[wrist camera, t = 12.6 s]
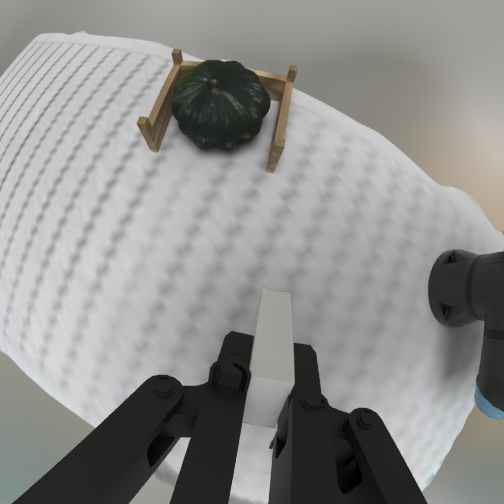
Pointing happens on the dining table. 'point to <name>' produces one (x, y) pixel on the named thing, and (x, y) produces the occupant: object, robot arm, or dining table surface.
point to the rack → (162, 109)
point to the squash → (220, 103)
